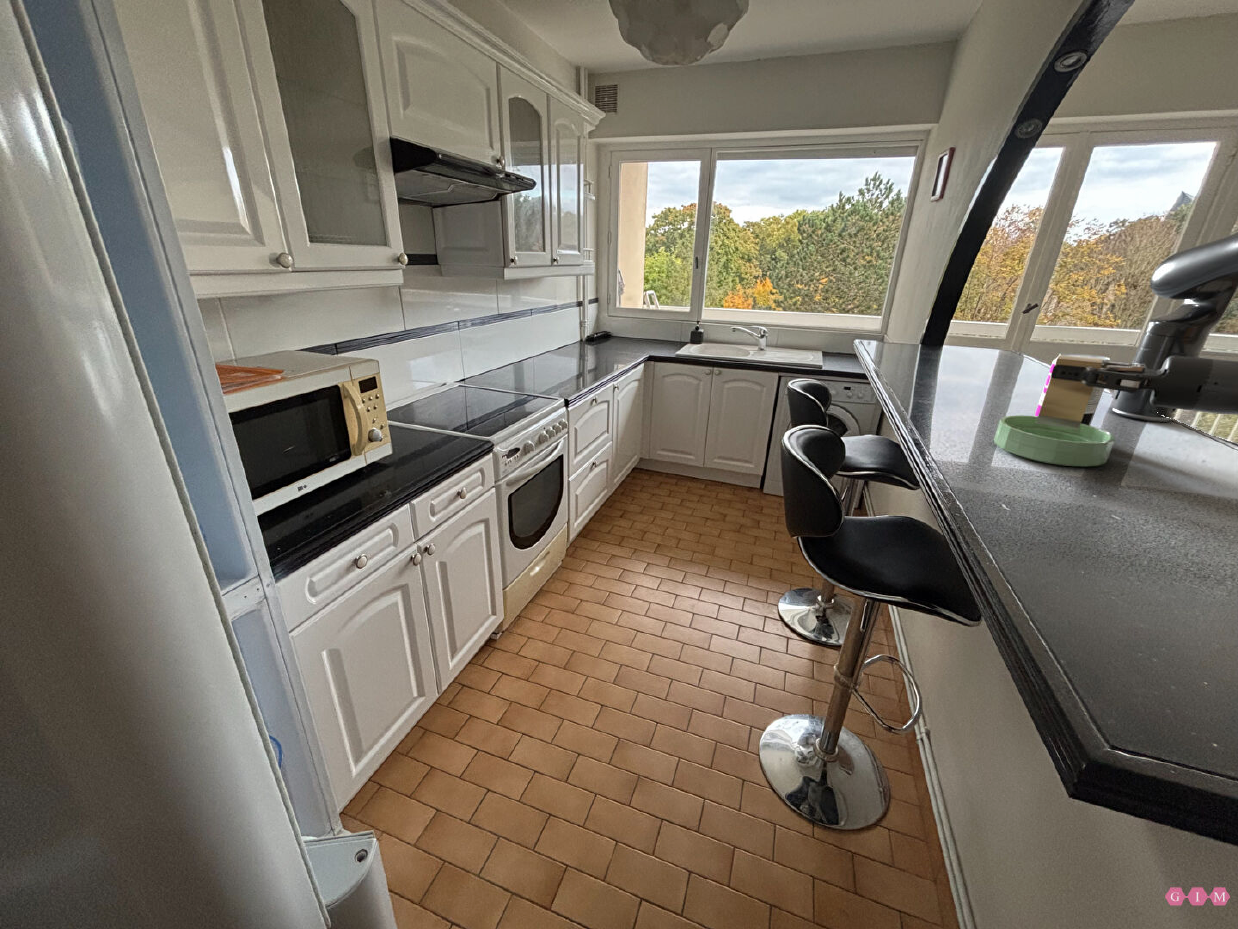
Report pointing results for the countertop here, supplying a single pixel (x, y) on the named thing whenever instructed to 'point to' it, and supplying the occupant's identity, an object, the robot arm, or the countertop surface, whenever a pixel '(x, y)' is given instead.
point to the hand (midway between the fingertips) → (1054, 368)
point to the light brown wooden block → (1067, 396)
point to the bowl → (1053, 442)
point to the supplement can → (1095, 393)
